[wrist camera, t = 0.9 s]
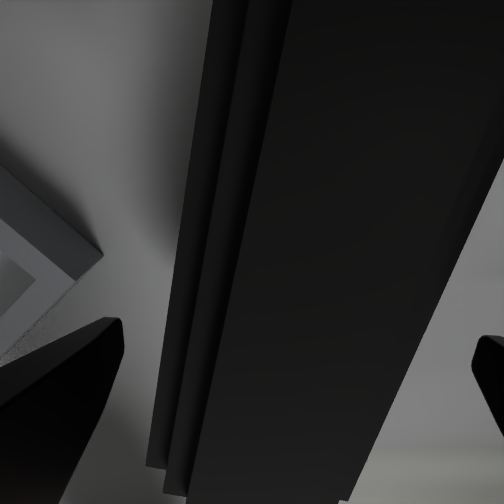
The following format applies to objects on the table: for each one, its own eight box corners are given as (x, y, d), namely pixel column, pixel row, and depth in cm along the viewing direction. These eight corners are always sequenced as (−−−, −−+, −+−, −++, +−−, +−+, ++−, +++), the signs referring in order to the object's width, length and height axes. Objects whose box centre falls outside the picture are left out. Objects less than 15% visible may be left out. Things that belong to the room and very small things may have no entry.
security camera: (184, 370, 21) (121, 577, 12) (249, -2, 14) (224, -212, 5) (300, 391, 21) (329, 609, 12) (416, 39, 15) (685, -86, 5)
